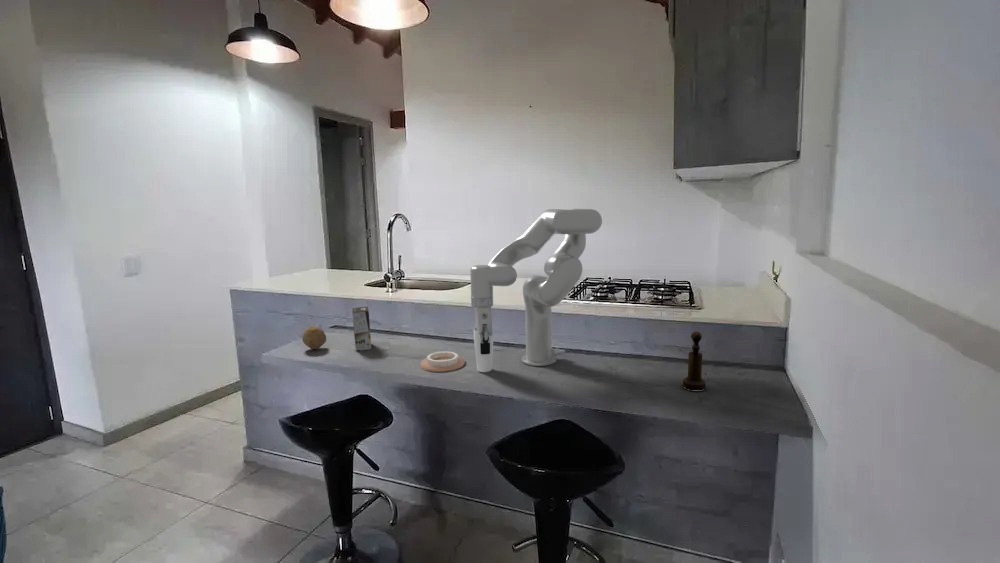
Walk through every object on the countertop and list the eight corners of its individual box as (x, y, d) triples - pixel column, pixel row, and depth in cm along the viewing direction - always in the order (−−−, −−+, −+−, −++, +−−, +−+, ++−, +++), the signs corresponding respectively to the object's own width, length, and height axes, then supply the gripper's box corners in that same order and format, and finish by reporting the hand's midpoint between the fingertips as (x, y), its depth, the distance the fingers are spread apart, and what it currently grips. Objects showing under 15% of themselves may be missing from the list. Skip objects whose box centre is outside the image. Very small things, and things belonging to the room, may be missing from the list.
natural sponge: (297, 351, 195) (295, 327, 194) (314, 345, 203) (311, 322, 202) (315, 353, 192) (312, 329, 190) (330, 347, 200) (328, 324, 198)
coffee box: (371, 349, 196) (368, 310, 193) (355, 351, 194) (352, 312, 191) (370, 343, 204) (368, 306, 202) (355, 344, 203) (352, 307, 200)
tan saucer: (462, 355, 185) (462, 347, 185) (466, 369, 170) (466, 361, 169) (420, 358, 183) (419, 351, 182) (421, 373, 167) (420, 365, 167)
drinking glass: (491, 374, 165) (490, 331, 162) (472, 373, 166) (471, 331, 164) (496, 367, 171) (494, 326, 169) (477, 366, 173) (476, 326, 170)
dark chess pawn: (687, 382, 154) (689, 327, 150) (708, 386, 150) (711, 330, 146) (679, 389, 149) (682, 332, 145) (701, 394, 145) (704, 336, 141)
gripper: (497, 306, 157) (498, 356, 160) (489, 296, 174) (490, 341, 176) (474, 307, 156) (475, 358, 158) (468, 297, 172) (469, 343, 175)
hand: (483, 349), depth 167 cm, fingers open, 9 cm apart
